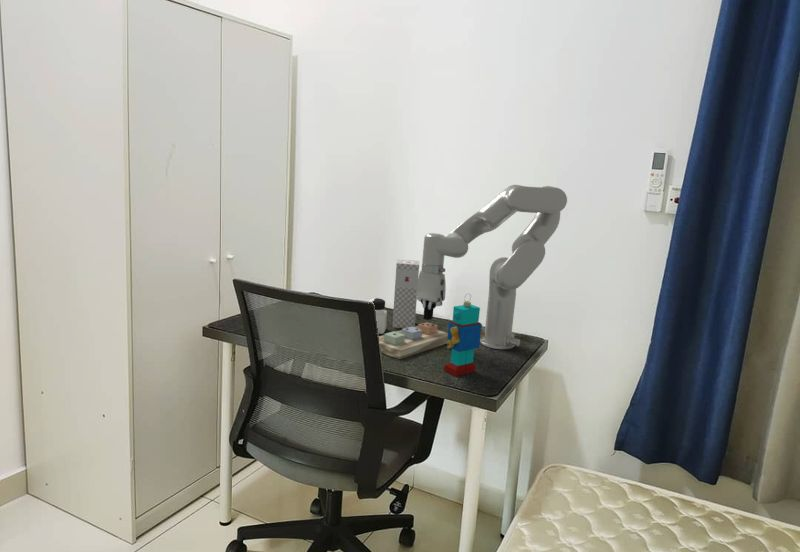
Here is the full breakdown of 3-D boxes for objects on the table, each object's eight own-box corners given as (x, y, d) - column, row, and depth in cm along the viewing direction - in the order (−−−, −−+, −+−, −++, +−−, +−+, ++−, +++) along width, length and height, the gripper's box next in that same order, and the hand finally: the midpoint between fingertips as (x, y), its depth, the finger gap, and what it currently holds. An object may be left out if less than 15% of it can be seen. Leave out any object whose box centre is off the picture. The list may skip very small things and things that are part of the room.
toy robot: (467, 365, 181) (474, 289, 176) (480, 371, 176) (488, 294, 171) (439, 371, 174) (446, 292, 169) (452, 378, 169) (460, 297, 164)
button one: (404, 343, 190) (405, 334, 189) (394, 346, 186) (395, 337, 185) (393, 339, 193) (394, 330, 192) (383, 342, 189) (384, 333, 189)
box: (393, 321, 224) (397, 259, 219) (414, 322, 223) (419, 261, 218) (392, 327, 215) (396, 263, 210) (414, 329, 215) (419, 265, 210)
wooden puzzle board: (450, 342, 203) (451, 334, 202) (399, 359, 182) (400, 350, 181) (420, 332, 212) (421, 324, 211) (368, 347, 191) (368, 339, 190)
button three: (437, 333, 203) (437, 324, 203) (428, 336, 199) (429, 327, 199) (426, 329, 206) (426, 321, 206) (417, 332, 203) (418, 323, 202)
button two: (421, 338, 196) (422, 329, 196) (412, 341, 193) (412, 332, 192) (410, 334, 200) (411, 325, 199) (401, 337, 196) (401, 328, 195)
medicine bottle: (385, 328, 213) (387, 298, 211) (383, 334, 206) (385, 302, 204) (367, 326, 214) (369, 296, 212) (364, 332, 207) (366, 300, 205)
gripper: (455, 271, 196) (450, 322, 200) (422, 264, 206) (418, 312, 209) (442, 274, 191) (438, 326, 194) (409, 266, 200) (405, 315, 204)
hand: (427, 318), depth 202 cm, fingers closed
